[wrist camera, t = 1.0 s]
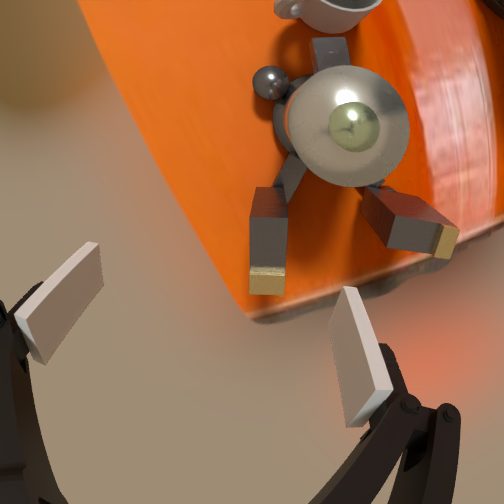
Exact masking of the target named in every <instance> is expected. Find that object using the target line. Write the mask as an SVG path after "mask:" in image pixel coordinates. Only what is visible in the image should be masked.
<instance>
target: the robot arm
mask: <svg viewBox="0 0 504 504" xmlns="http://www.w3.org/2000/svg"><path fill="white" fill-rule="evenodd" d="M483 1H484V2H485V3H486V4H487V6H488V7H489V8H491V9H492V10H493V11H494V12H495V13H496V14H497V15H499V16H500V17H501V18H503V19H504V0H483ZM103 286H104V283H103V275H102V268H101V260H100V249H99V244H98V243H92V242H87V243H86V244H84V245H83V246H82V247H81V248H80V249H79V250H78V251H77V252H76V253H75V254H73V255H72V256H71V257H70V258H69V259H68V260H67V261H66V262H65V263H64V264H63V265H62V266H61V267H59V268H58V269H57V270H56V271H55V272H54V273H53V274H52V275H51V276H50V277H49V278H48V279H47V280H46V281H45V282H40V283H38V284H37V285H35V286H33V287H32V288H31V289H30V290H29V291H28V293H26V294H25V295H24V296H23V298H22V299H20V301H18V302H17V304H16V305H15V306H14V307H13V308H12V309H11V310H10V311H9V312H8V313H7V311H6V309H5V306H4V303H3V302H2V301H1V300H0V504H68V502H67V501H66V499H65V498H64V496H63V495H62V493H61V492H60V490H59V488H58V486H57V483H56V481H55V478H54V475H53V472H52V469H51V466H50V463H49V460H48V456H47V453H46V450H45V446H44V443H43V439H42V435H41V431H40V427H39V423H38V419H37V414H36V409H35V404H34V398H33V393H32V386H31V379H30V372H29V364H28V359H27V357H26V355H27V354H28V353H29V351H30V353H31V355H32V357H33V359H34V360H35V361H37V362H39V363H41V364H43V365H46V364H47V363H48V361H49V360H50V358H51V357H52V355H53V354H54V352H55V351H56V349H57V348H58V346H59V345H60V343H61V342H62V341H63V339H64V338H65V336H66V335H67V333H68V332H69V331H70V329H71V328H72V327H73V325H74V324H75V322H76V321H77V320H78V318H79V317H80V316H81V314H82V313H83V312H84V310H85V309H86V308H87V306H88V305H89V304H90V302H91V301H92V300H93V299H94V297H95V296H96V294H97V293H98V292H99V291H100V290H101V288H102V287H103ZM328 330H329V334H330V339H331V344H332V349H333V354H334V359H335V365H336V370H337V375H338V381H339V387H340V392H341V398H342V404H343V410H344V417H345V423H346V427H363V426H364V425H365V424H366V422H367V421H368V420H369V424H370V428H369V429H368V430H367V431H366V433H365V434H364V435H363V436H362V437H361V438H360V439H361V440H360V442H359V443H358V445H357V446H356V447H355V449H354V450H353V451H352V453H351V454H350V455H349V456H348V458H347V459H346V461H345V462H344V463H343V464H342V465H341V467H340V468H339V469H338V470H337V472H336V473H335V474H334V475H333V476H332V478H331V479H330V480H329V481H328V482H327V483H326V485H325V486H324V487H323V488H322V489H321V490H320V492H319V493H318V494H317V495H316V496H315V497H314V498H313V499H312V500H311V501H310V502H309V503H308V504H371V502H372V501H373V499H374V498H375V497H376V495H377V494H378V492H379V491H380V489H381V488H382V486H383V484H384V483H385V481H386V480H387V478H388V476H389V475H390V473H391V471H392V470H393V468H394V466H395V465H396V463H397V461H398V459H399V457H400V456H401V454H402V457H401V461H400V465H399V468H398V472H397V475H396V479H395V482H394V486H393V489H392V492H391V495H390V498H389V501H388V504H451V503H452V498H453V493H454V487H455V480H456V473H457V465H458V456H459V445H460V427H461V417H460V413H459V411H458V409H457V408H456V407H455V406H453V405H452V404H449V403H444V404H441V405H440V406H439V407H438V408H437V409H431V408H427V407H423V406H421V403H420V401H419V400H418V399H417V398H416V397H415V396H413V395H411V394H409V393H408V391H407V388H406V385H405V383H404V379H403V377H402V374H401V371H400V369H399V366H398V363H397V362H396V358H395V355H394V353H393V351H392V350H391V349H390V347H389V346H388V345H387V344H382V343H378V342H377V339H376V337H375V334H374V331H373V328H372V326H371V323H370V321H369V318H368V315H367V313H366V310H365V307H364V305H363V302H362V300H361V297H360V295H359V292H358V290H357V288H355V287H349V286H343V288H342V290H341V293H340V296H339V298H338V301H337V303H336V306H335V309H334V311H333V314H332V316H331V319H330V321H329V324H328ZM402 452H403V453H402Z"/></svg>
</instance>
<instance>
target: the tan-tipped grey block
mask: <svg viewBox="0 0 504 504" xmlns="http://www.w3.org/2000/svg"><path fill="white" fill-rule="evenodd" d="M287 232H288V212H287V204H286V196H285V189H284V188H271V187H256V190H255V195H254V199H253V204H252V208H251V213H250V274H249V294H259V295H284V288H285V266H286V250H287Z"/></svg>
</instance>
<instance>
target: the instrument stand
mask: <svg viewBox="0 0 504 504" xmlns="http://www.w3.org/2000/svg"><path fill="white" fill-rule="evenodd" d="M308 47H309V52H310V57H311V62H312V67H313V72H314V74H312V75H306V76H303V77H300V78H298V79H295V80H294V81H292V82H291V83H289V78H288V76H287V74H286V73H285V72H284V71H283V70H282V69H280V68H278V67H276V66H265V67H263V68H261V69H259V70H258V71H257V72H256V73H255V75H254V77H253V88H254V90H255V92H256V93H257V94H258V95H259V96H260V97H262V98H264V99H266V100H276V102H275V106H274V110H273V125H274V129H275V132H276V135H277V137H278V139H279V141H280V142H281V144H282V145H283V147H284V148H285V149H286V150H287V151H288V152H289V153H288V155H287V157H286V159H285V161H284V163H283V165H282V167H281V169H280V171H279V173H278V175H277V177H276V179H275V180H274V182H273V184H272V186H271V188H284V189H285V196H286V203H289V201H290V199H291V197H292V196H293V194H294V192H295V190H296V188H297V186H298V185H299V183H300V181H301V179H302V177H303V175H304V174H305V172H306V170H307V168H309V169H310V170H311V171H312V172H313V173H314V174H316V175H317V176H319V177H320V178H322V179H324V180H325V181H327V182H330V183H332V184H335V185H339V186H344V187H361V186H363V187H364V188H365V186H367V187H372V188H378V187H379V186H380V185H381V184H383V183H384V182H385V180H384V179H383V178H385V177H386V176H387V175H389V174H390V173H391V172H392V171H393V170H394V169H395V168H396V167H397V166H398V164H399V163H400V161H401V160H402V158H403V156H404V154H405V151H406V149H407V145H408V141H409V132H410V131H409V119H408V114H407V111H406V108H405V105H404V103H403V101H402V99H401V97H400V96H399V94H398V93H397V91H396V90H395V89H394V88H393V87H392V86H391V84H390V83H389V82H387V81H386V80H385V79H384V78H382V77H381V76H379V75H378V74H376V73H374V72H372V71H370V70H368V69H365V68H361V67H357V66H351V62H350V57H349V52H348V47H347V42H346V38H345V37H320V38H312V39H311V41H310V42H309V44H308Z"/></svg>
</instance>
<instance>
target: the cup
mask: <svg viewBox="0 0 504 504" xmlns="http://www.w3.org/2000/svg"><path fill="white" fill-rule="evenodd" d="M381 1H382V0H276V1H275V3H274V13H275V14H276V15H277V16H278V17H280V18H281V19H296V18H301V19H302V20H303V21H304V22H305V23H306V24H307V25H308V26H310V27H311V28H313V29H315V30H317V31H320V32H323V33H329V34H338V33H344V32H346V31H349V30H350V29H352V28H353V27H354V26H356V25H357V24H358V23H359V22H360V21H361V20H362V19H363V18H364V17H365V16H367V15H368V14H369V13H370V12H371V11H372V10H373V9H374V8H375V7H377V6H378V5H379V4H380V3H381Z"/></svg>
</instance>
